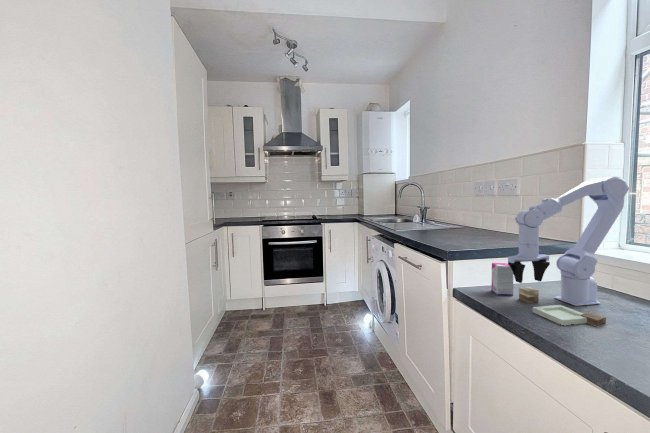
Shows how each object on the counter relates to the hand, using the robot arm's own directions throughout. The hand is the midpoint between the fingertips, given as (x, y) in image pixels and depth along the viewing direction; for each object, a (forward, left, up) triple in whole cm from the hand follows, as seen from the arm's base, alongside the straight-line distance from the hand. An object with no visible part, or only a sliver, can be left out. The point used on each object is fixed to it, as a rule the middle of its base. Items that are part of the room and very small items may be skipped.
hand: (528, 281), depth 99 cm
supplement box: (+3, -9, -7) cm, 12 cm away
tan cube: (0, 0, -7) cm, 7 cm away
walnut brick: (-3, +19, -7) cm, 21 cm away
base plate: (+2, +14, -7) cm, 16 cm away
